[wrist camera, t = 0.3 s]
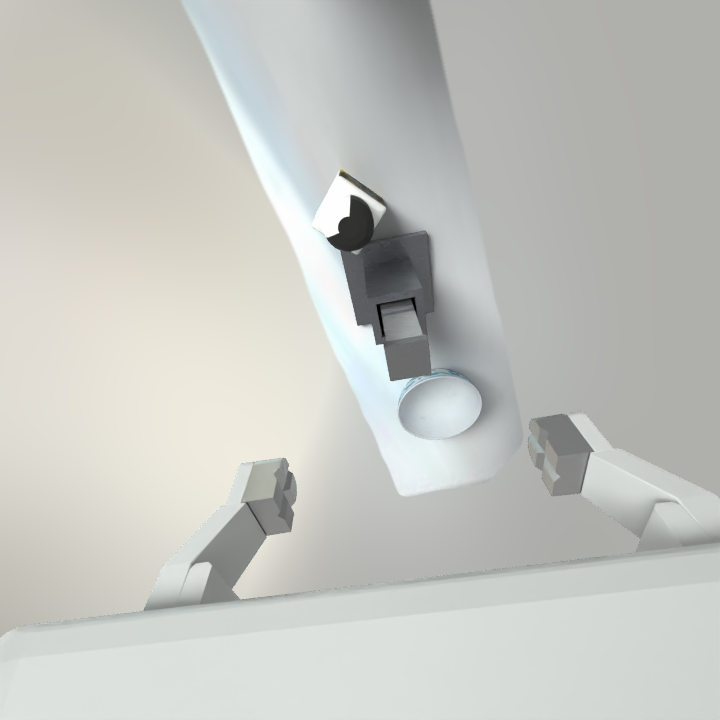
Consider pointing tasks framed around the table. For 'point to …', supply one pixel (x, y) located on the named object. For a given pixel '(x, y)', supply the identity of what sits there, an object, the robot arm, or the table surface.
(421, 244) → the stand base
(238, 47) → the table surface
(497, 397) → the table surface
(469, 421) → the chinaware
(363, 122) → the table surface
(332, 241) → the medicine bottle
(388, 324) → the column
